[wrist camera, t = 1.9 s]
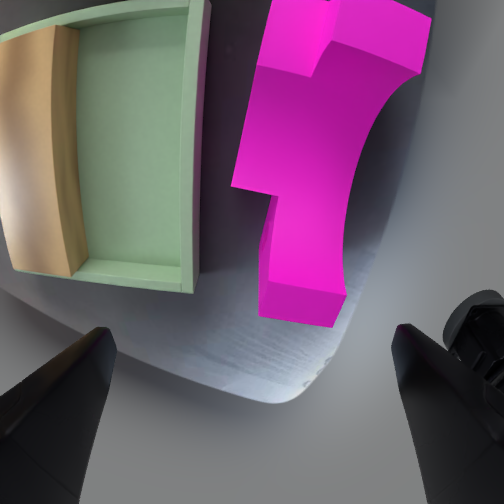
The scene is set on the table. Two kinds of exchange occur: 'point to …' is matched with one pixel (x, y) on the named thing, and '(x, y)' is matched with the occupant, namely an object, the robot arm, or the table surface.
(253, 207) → the table surface
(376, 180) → the table surface
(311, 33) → the toy block
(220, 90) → the table surface
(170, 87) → the frame
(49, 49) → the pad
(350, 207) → the table surface
